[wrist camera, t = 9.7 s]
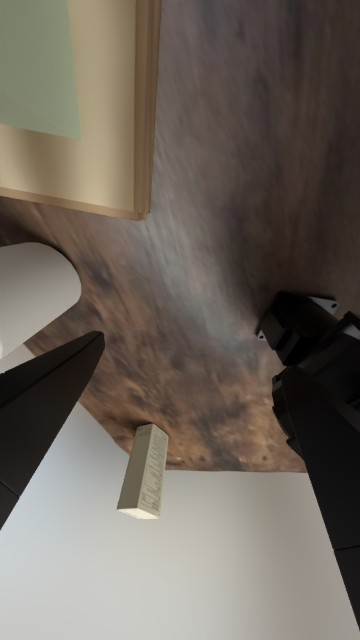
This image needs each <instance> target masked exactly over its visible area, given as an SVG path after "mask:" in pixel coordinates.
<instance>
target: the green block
mask: <svg viewBox="0 0 360 640" xmlns="http://www.w3.org/2000/svg"><path fill="white" fill-rule="evenodd" d="M0 123H2V124H4V125H7V126H12V127H17V128H22V129H28V130H33V131H38V132H43V133H48V134H54V135H59V136H64V137H69V138H74V139H79V140H82V138H81V129H80V120H79V110H78V101H77V91H76V82H75V73H74V63H73V54H72V45H71V35H70V26H69V16H68V7H67V0H0Z"/></svg>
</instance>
